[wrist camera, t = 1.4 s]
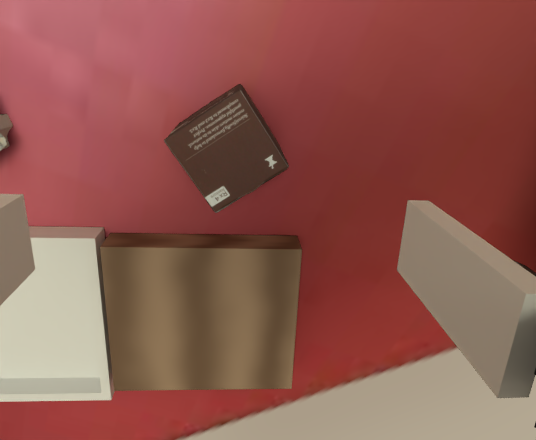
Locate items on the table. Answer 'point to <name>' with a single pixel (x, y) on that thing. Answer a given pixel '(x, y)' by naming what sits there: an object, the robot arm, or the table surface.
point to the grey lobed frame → (4, 130)
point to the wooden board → (201, 310)
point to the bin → (58, 322)
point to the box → (227, 148)
